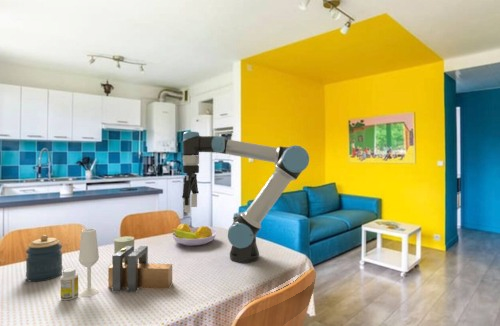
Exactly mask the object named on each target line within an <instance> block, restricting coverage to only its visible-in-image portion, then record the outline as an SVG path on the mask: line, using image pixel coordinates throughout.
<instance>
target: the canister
mask: <svg viewBox="0 0 500 326" xmlns="http://www.w3.org/2000/svg"><path fill="white" fill-rule="evenodd" d="M60 242H61V241H60V239H57V238H55V237H49V236H48V235H46V234H43V235H42V236H40V238H38V239H35V240H33V241H31V242H30V243H28V245H27V246H28V248H27V249H26V250H25V253H26V255H27V256H26V257H25V266H26V267H25V268H26V269H25V270H26V272H25V277H26V280H28V281H29V282H41V281H42V282H43V281H47V280H52V279H53V278H54V279H55V278H56V277H58V276H60V275H61V274H63V252H62V248H63V245H62V244H60Z"/></svg>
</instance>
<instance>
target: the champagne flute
mask: <svg viewBox="0 0 500 326" xmlns="http://www.w3.org/2000/svg"><path fill="white" fill-rule="evenodd" d="M80 233H81V234H80V243H79V252H78V262H79V264H80V265H81V266H83V267H85V268H87V269H86V273H87V274H86V275H87V278H86V280H87V283H86V284H87V285H86V288H85V289H83V290H82V291H80V292H78V296H80V297H83V298H84V297H85V298H86V297H92V296H95V295H96V294H98V293H99V292H100V289H99V288H96V287H92V267H93V266H94V265H95V264H96V263H97V262H98V261H99V258H100V254H99V245H98V237H97V230H96V228H84V229H82V230H81V232H80Z"/></svg>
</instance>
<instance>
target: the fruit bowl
mask: <svg viewBox="0 0 500 326" xmlns="http://www.w3.org/2000/svg"><path fill="white" fill-rule="evenodd" d="M172 231H173V233H171V236H172V238H173V240H174V241H175V243H178V244H181V245H184V246H188V247H192V246H194V247H195V246H204V245H206V244H208V243H210V242H212V241H213V240H215V239H216V236H217V233H218V231H217V230H215V229H213V228H211V227H209V226H206V225H205V226H204V225H201V226H199V227H190V225H189V224H188V223H180V224H179V225H177V227H176V228H173V229H172Z"/></svg>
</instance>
